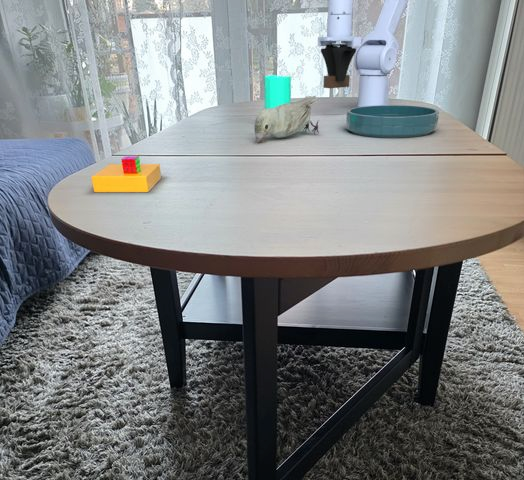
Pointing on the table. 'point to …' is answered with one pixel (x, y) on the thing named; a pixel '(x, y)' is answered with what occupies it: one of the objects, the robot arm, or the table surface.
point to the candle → (277, 90)
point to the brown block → (335, 82)
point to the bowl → (392, 121)
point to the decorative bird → (285, 119)
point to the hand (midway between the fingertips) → (336, 80)
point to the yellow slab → (127, 176)
